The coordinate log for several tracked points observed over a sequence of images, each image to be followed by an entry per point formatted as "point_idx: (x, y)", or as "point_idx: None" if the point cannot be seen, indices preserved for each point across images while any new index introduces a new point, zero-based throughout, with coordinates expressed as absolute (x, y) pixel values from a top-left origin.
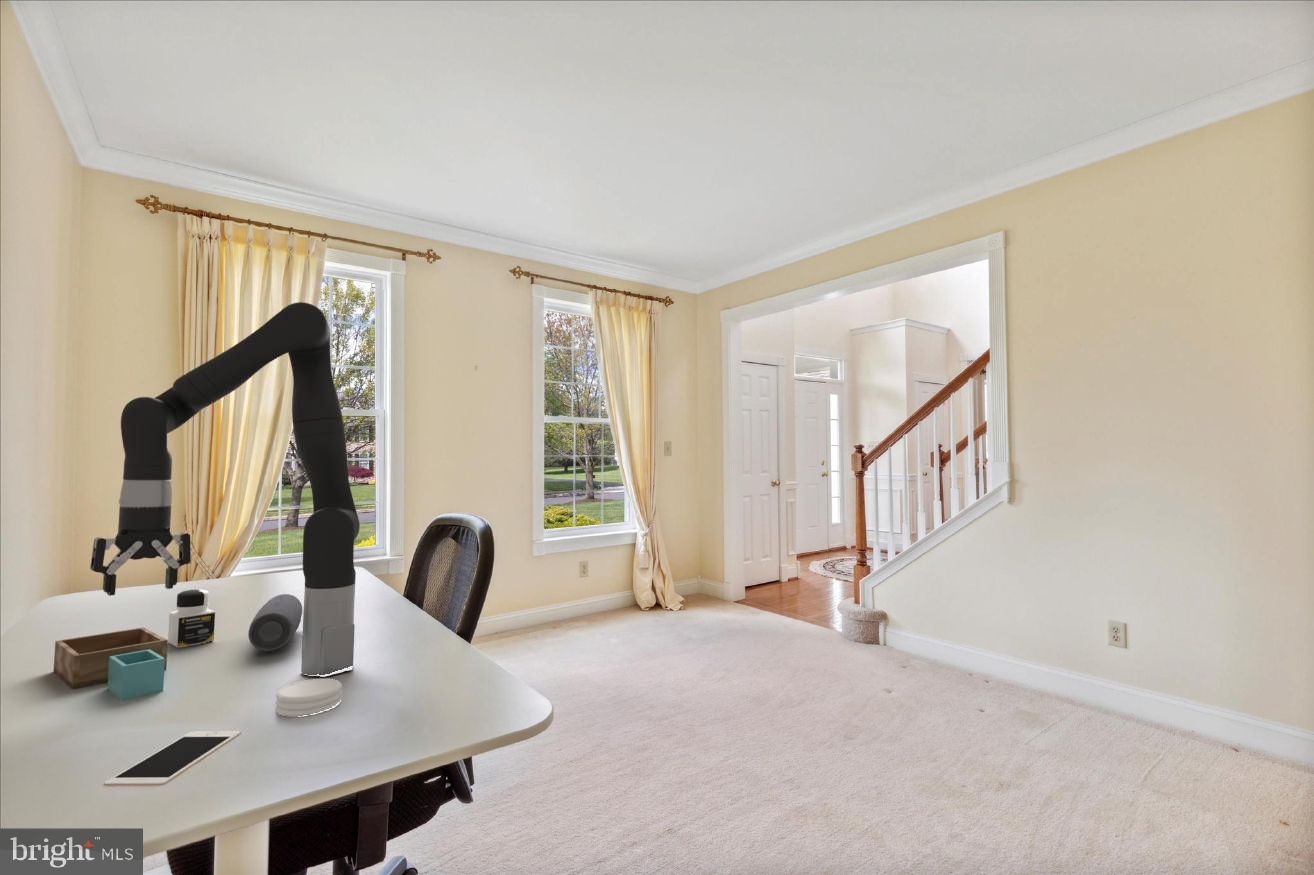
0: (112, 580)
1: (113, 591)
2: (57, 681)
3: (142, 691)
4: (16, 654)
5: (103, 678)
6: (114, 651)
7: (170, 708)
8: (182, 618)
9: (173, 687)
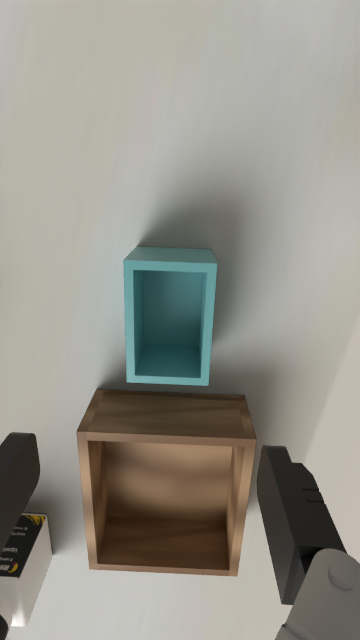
0: (303, 508)
1: (276, 454)
2: None
3: (174, 249)
4: (234, 635)
5: (198, 399)
6: (182, 431)
7: (163, 80)
8: (13, 574)
9: (116, 252)
